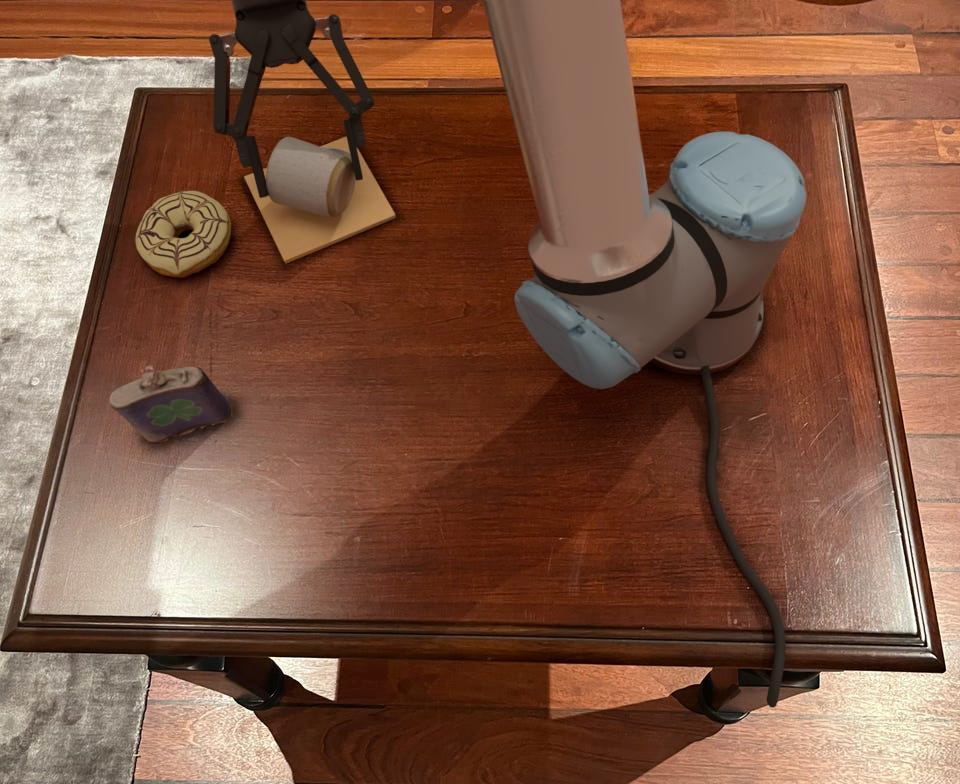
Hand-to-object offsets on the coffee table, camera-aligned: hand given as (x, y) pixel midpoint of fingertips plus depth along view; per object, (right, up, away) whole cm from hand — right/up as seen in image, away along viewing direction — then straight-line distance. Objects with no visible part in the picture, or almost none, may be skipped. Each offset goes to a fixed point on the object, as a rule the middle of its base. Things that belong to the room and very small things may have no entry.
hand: (312, 187), depth 90 cm
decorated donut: (-15, -6, +4) cm, 17 cm away
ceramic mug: (0, +1, +5) cm, 5 cm away
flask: (-12, -26, -6) cm, 29 cm away
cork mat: (0, 0, +6) cm, 6 cm away
